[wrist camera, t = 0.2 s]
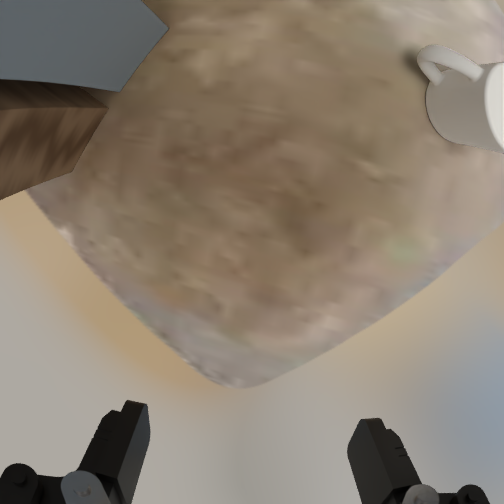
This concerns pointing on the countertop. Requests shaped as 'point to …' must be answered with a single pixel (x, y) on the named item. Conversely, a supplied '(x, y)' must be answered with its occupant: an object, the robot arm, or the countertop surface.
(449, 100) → the mug
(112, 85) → the blue stand
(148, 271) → the countertop surface
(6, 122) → the walnut stand
